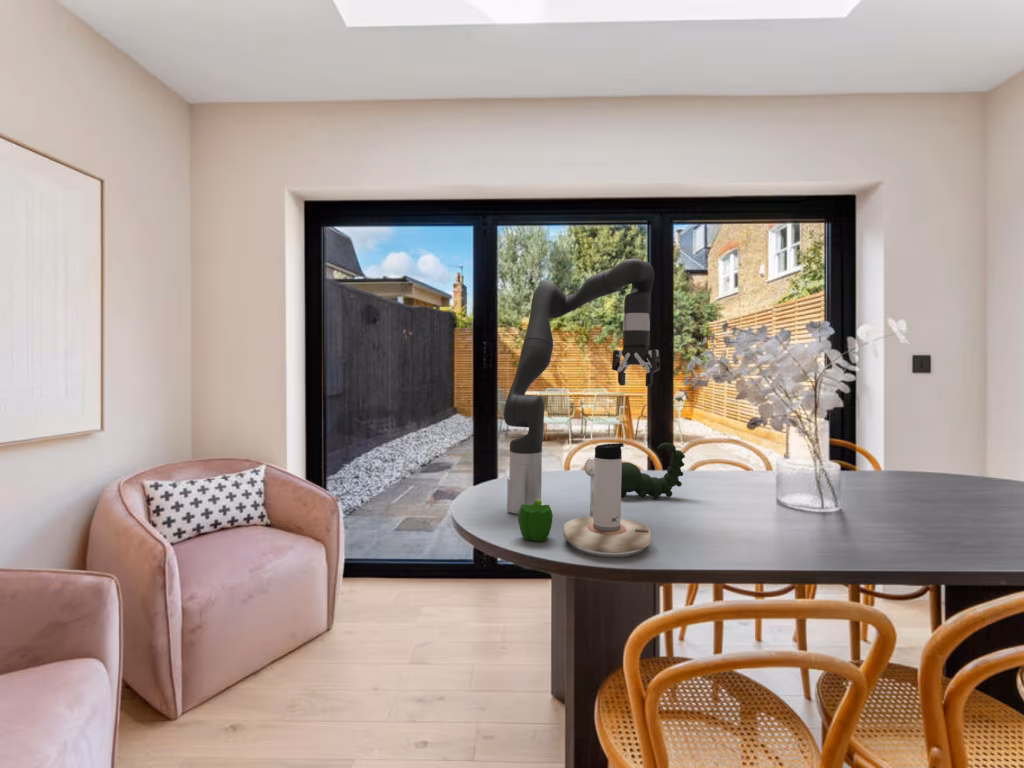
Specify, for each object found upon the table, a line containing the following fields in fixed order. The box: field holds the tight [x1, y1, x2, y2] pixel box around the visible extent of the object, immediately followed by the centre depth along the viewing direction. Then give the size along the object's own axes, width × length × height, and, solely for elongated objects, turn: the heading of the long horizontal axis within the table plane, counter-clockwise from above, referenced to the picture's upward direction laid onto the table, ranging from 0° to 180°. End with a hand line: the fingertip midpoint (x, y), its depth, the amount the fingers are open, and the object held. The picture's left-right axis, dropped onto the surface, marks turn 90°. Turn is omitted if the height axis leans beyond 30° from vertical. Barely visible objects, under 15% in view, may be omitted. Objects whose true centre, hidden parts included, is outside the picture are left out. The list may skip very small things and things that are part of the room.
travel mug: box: [593, 442, 624, 532], centre depth 126 cm, size 6×7×20 cm
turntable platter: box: [563, 516, 652, 552], centre depth 126 cm, size 20×20×2 cm
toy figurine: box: [621, 442, 686, 501], centre depth 171 cm, size 9×19×25 cm
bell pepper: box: [517, 499, 554, 542], centre depth 130 cm, size 8×8×10 cm
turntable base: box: [569, 542, 644, 559], centre depth 127 cm, size 17×17×1 cm
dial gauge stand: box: [582, 456, 595, 517], centre depth 141 cm, size 6×8×18 cm
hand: (634, 385), depth 156 cm, fingers open, 8 cm apart
